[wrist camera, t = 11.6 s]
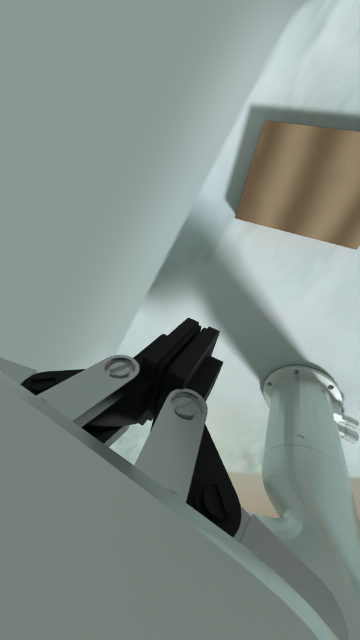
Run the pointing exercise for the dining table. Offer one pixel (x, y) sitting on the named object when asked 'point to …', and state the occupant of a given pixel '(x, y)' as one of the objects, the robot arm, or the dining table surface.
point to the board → (305, 183)
